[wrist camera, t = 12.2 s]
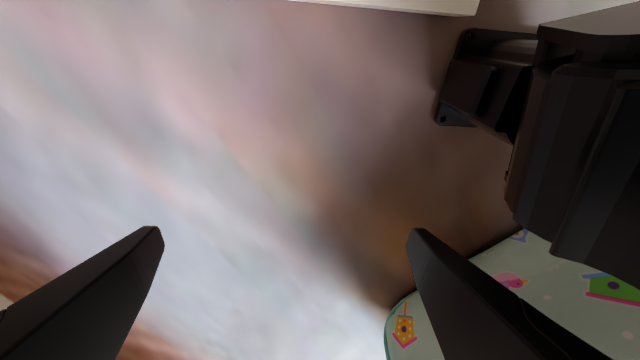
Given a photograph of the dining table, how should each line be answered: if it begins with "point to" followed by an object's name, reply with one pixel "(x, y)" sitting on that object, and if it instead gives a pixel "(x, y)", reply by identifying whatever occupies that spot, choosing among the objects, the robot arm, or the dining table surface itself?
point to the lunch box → (535, 301)
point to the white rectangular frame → (412, 6)
